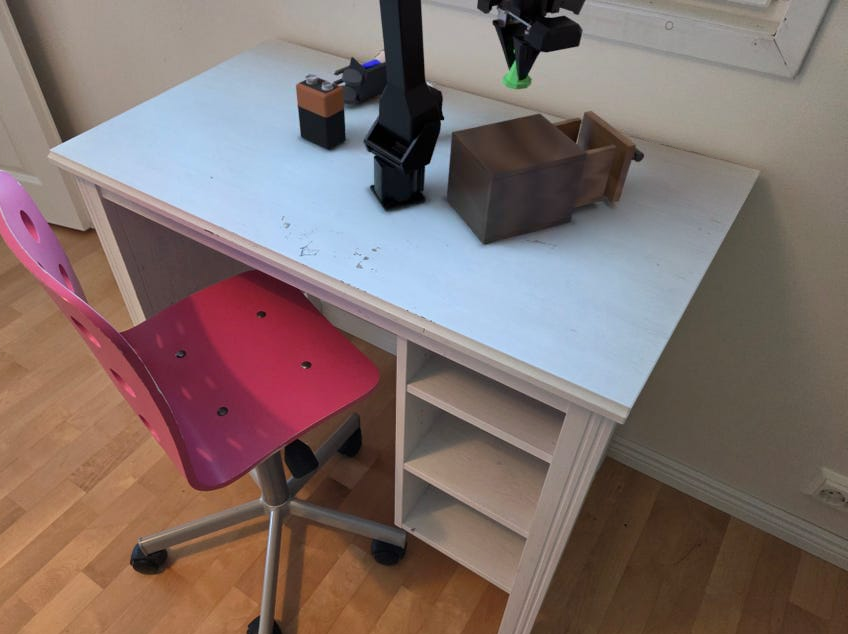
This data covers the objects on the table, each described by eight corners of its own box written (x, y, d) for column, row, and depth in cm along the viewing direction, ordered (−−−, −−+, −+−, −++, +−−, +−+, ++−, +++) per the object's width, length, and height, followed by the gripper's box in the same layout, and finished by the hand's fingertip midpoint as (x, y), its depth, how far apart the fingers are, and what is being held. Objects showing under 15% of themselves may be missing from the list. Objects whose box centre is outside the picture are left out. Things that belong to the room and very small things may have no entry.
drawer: (601, 160, 100) (616, 104, 94) (643, 195, 93) (663, 138, 87) (505, 183, 96) (514, 127, 90) (542, 221, 90) (554, 163, 83)
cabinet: (527, 180, 98) (540, 113, 91) (570, 222, 91) (587, 152, 83) (446, 199, 95) (451, 131, 87) (483, 244, 88) (492, 175, 80)
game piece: (515, 92, 97) (522, 50, 92) (496, 81, 99) (501, 40, 95) (536, 84, 98) (544, 43, 94) (517, 74, 101) (523, 34, 97)
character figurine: (327, 104, 117) (388, 79, 124) (353, 115, 113) (415, 88, 120) (322, 58, 112) (386, 35, 118) (349, 68, 108) (414, 43, 114)
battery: (318, 128, 111) (313, 68, 103) (347, 141, 107) (344, 80, 100) (299, 138, 108) (293, 78, 101) (328, 151, 105) (324, 90, 98)
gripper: (630, -28, 83) (599, 92, 94) (549, -66, 95) (530, 45, 106) (555, -16, 80) (533, 107, 91) (481, -57, 92) (470, 57, 103)
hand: (517, 76), depth 98 cm, fingers closed on game piece, 2 cm apart
